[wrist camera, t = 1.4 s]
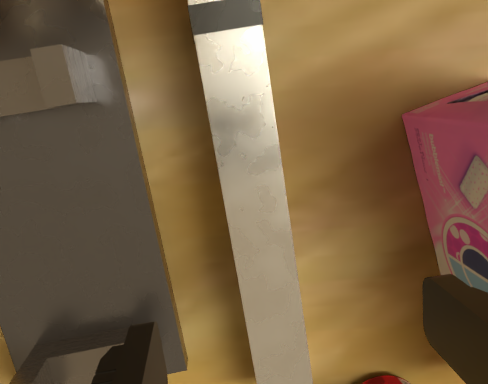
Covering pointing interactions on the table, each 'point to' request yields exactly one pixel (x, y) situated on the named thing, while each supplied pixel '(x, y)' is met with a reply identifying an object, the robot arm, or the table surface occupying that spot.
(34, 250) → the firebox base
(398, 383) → the soda can
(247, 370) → the table surface
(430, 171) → the gum box
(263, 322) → the pale grey long bar
